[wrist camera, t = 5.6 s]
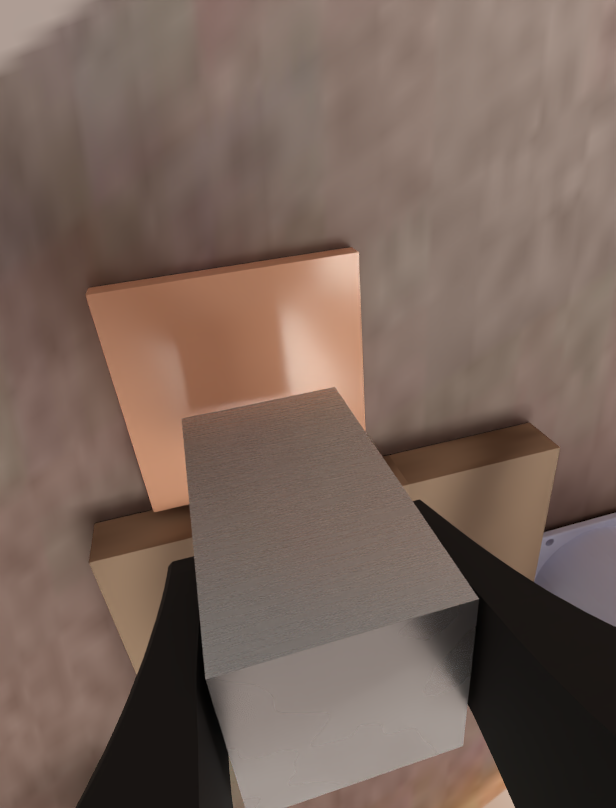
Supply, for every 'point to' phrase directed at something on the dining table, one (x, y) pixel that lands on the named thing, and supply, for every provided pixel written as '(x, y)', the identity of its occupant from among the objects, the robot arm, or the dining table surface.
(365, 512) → the steel plug
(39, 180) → the dining table surface
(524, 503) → the wooden board with hole
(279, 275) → the terracotta tile
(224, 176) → the dining table surface
